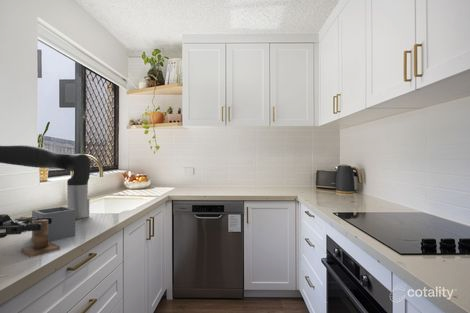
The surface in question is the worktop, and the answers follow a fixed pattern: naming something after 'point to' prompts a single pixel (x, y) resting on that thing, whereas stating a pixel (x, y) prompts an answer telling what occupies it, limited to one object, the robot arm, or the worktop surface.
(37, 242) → the wooden peg on base
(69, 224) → the tub
